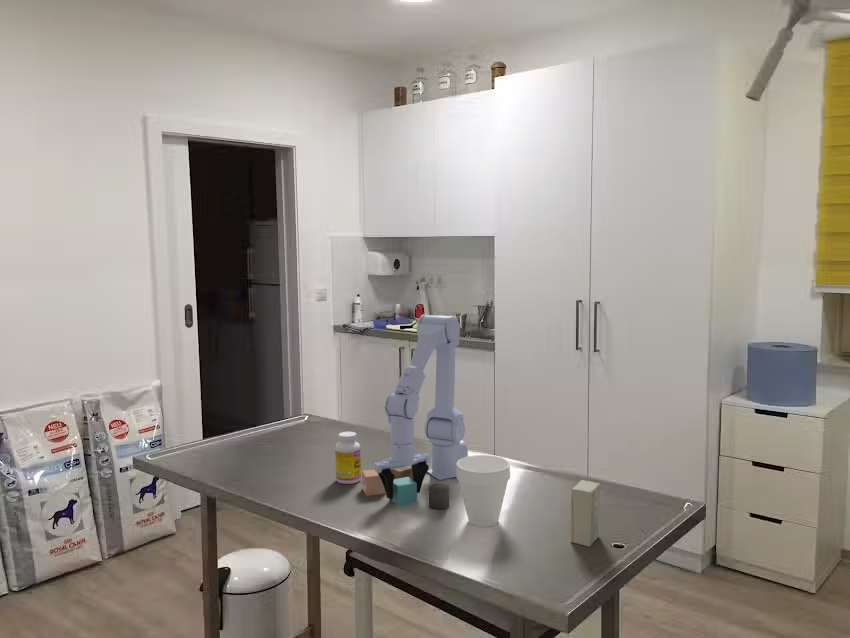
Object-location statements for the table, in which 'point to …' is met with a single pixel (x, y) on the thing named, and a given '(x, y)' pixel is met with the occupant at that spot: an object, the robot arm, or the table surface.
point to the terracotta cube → (372, 483)
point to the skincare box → (585, 512)
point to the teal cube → (404, 491)
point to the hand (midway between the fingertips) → (403, 495)
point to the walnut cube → (402, 472)
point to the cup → (483, 487)
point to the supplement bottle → (348, 459)
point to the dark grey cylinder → (438, 496)
